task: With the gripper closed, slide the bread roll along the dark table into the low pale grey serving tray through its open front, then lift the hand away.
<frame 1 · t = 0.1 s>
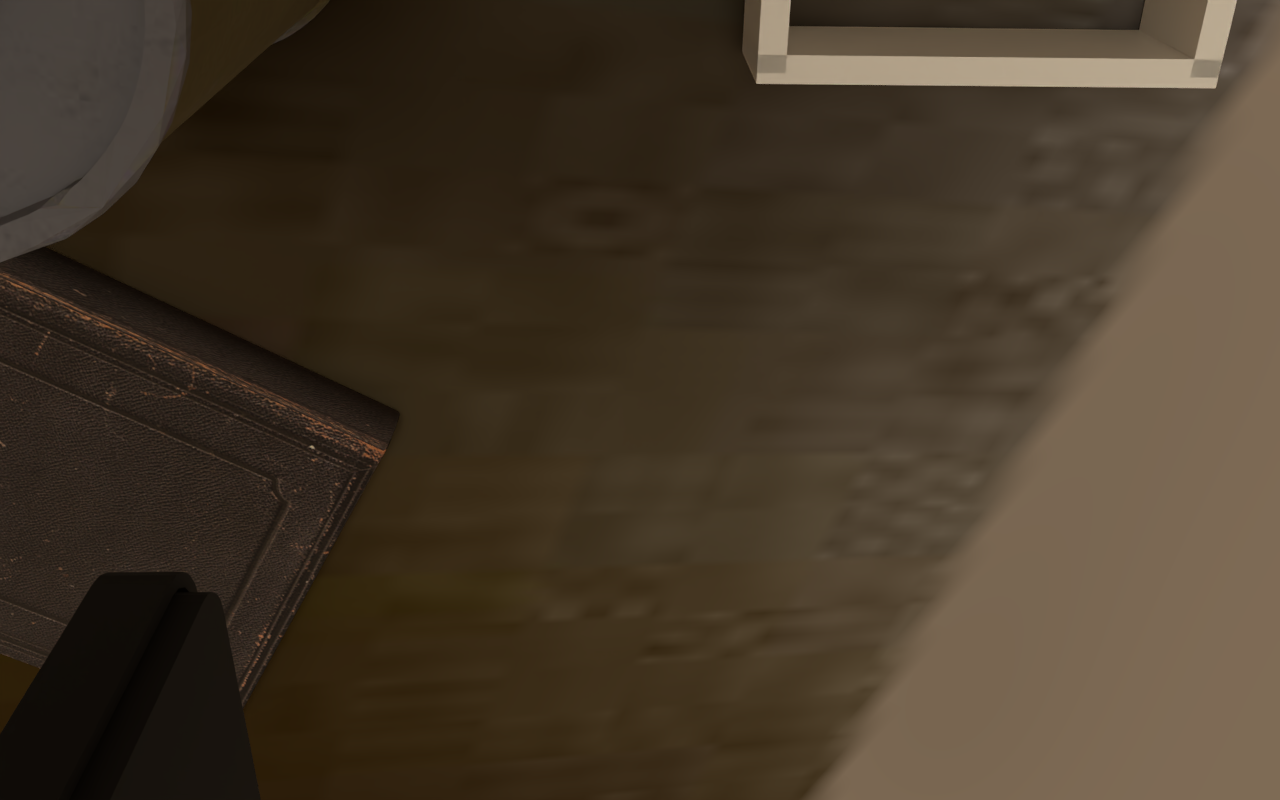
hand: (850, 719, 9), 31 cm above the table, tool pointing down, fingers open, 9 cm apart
hardcover book: (24, 434, 44), on the table
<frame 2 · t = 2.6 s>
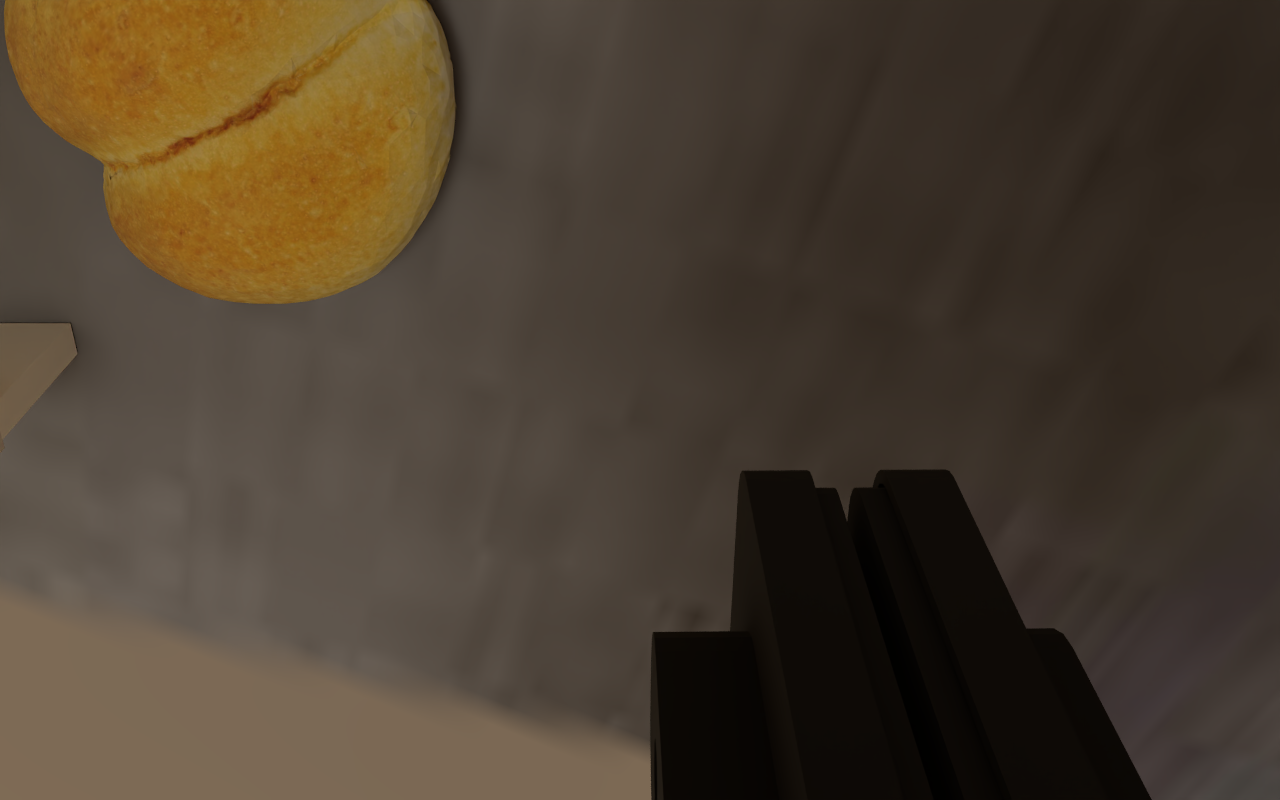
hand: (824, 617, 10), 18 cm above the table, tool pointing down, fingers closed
bread roll: (256, 69, 26), on the table
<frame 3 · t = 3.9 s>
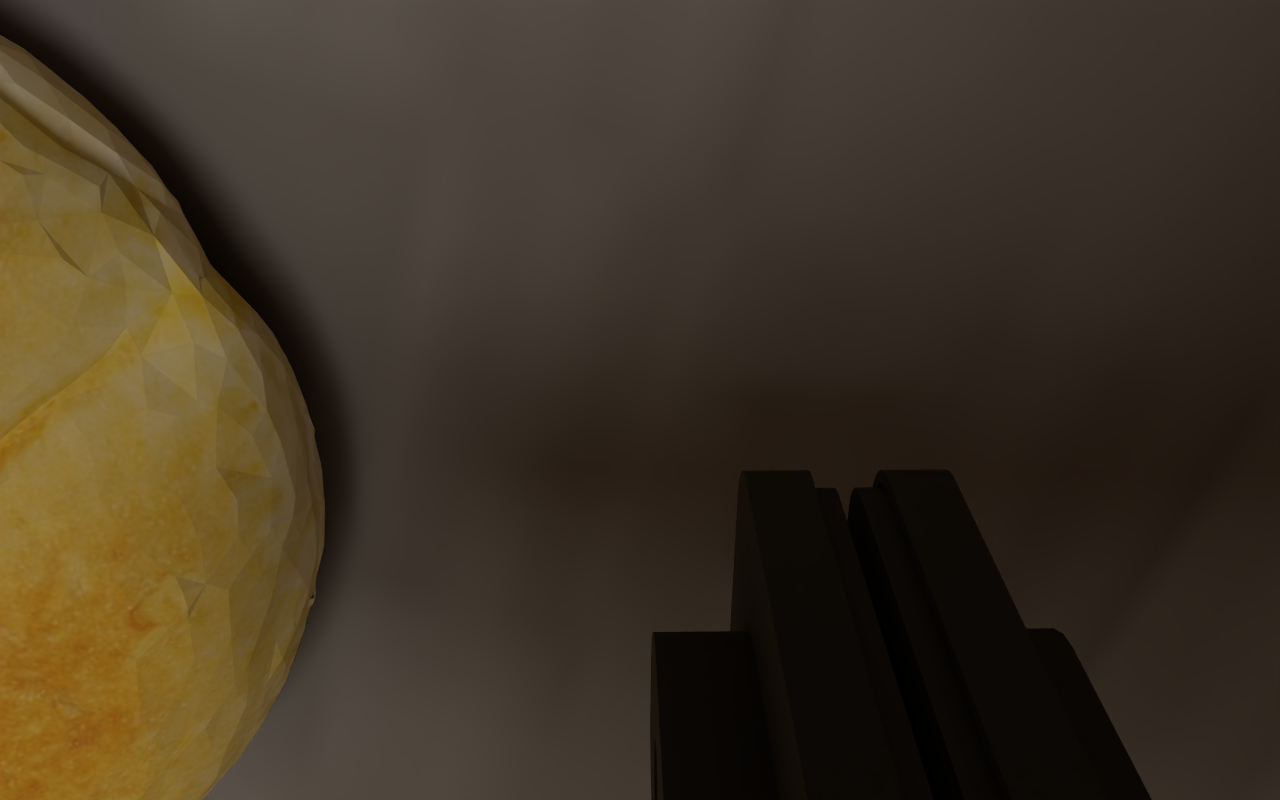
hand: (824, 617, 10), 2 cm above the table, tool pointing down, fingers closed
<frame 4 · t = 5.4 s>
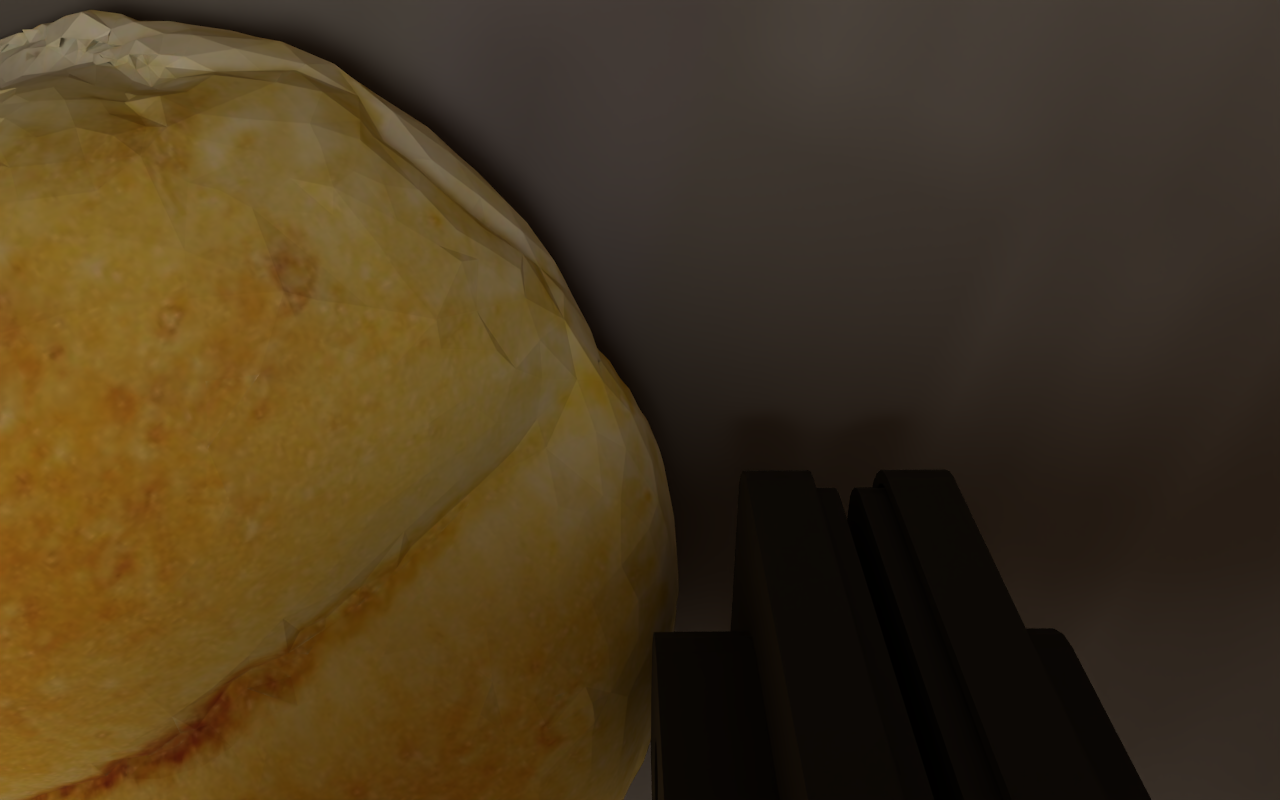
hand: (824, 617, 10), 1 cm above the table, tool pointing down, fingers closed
bread roll: (207, 483, 11), on the table, touching gripper
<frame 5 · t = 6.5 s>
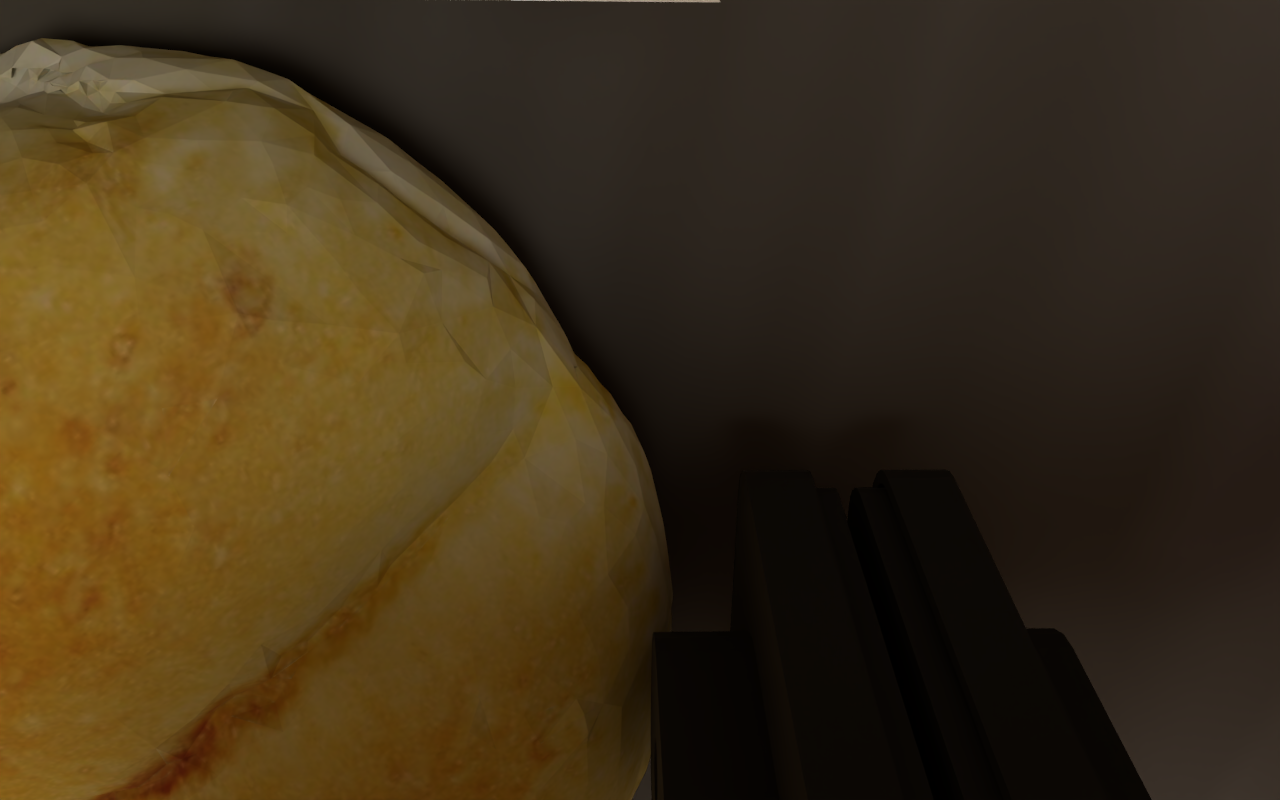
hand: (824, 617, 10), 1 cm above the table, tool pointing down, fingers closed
bread roll: (197, 507, 11), on the table
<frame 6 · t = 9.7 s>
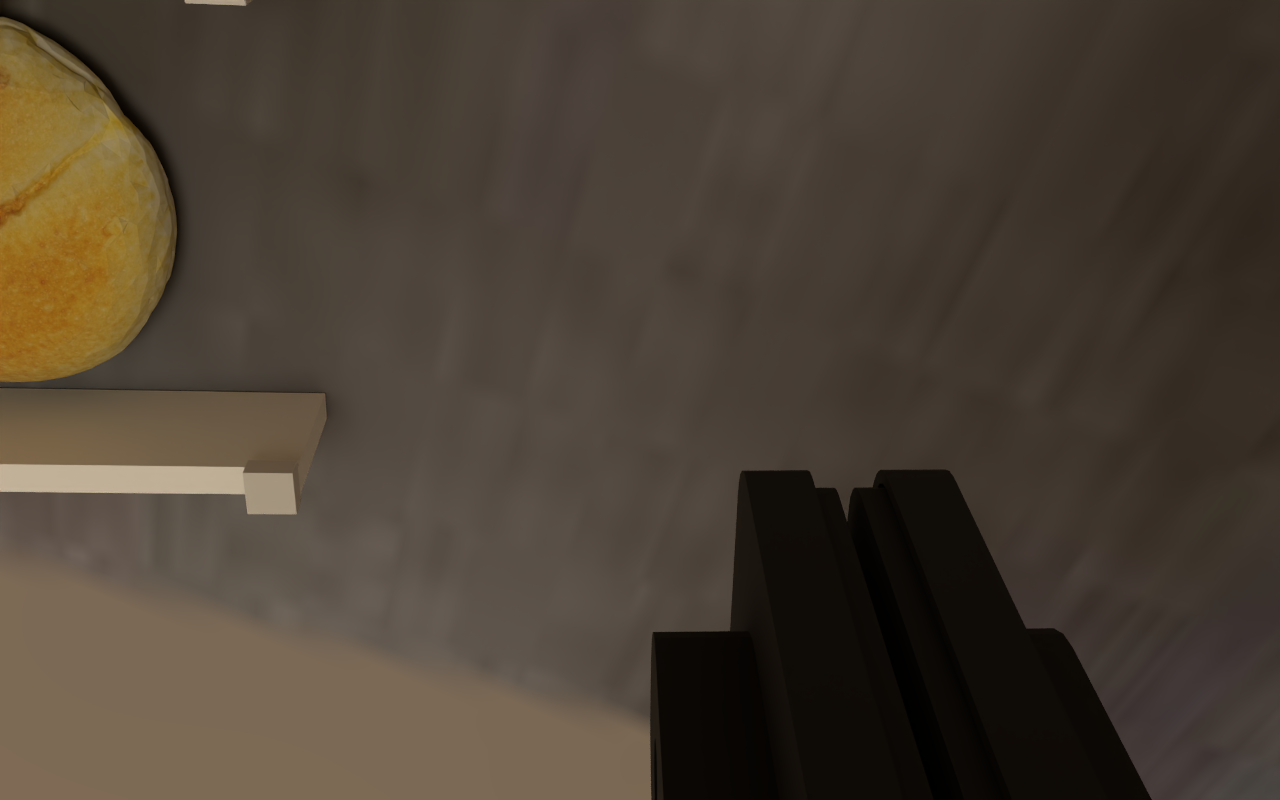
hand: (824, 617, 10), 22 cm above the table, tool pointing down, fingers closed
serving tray: (15, 187, 30), on the table
bread roll: (9, 185, 31), on the table
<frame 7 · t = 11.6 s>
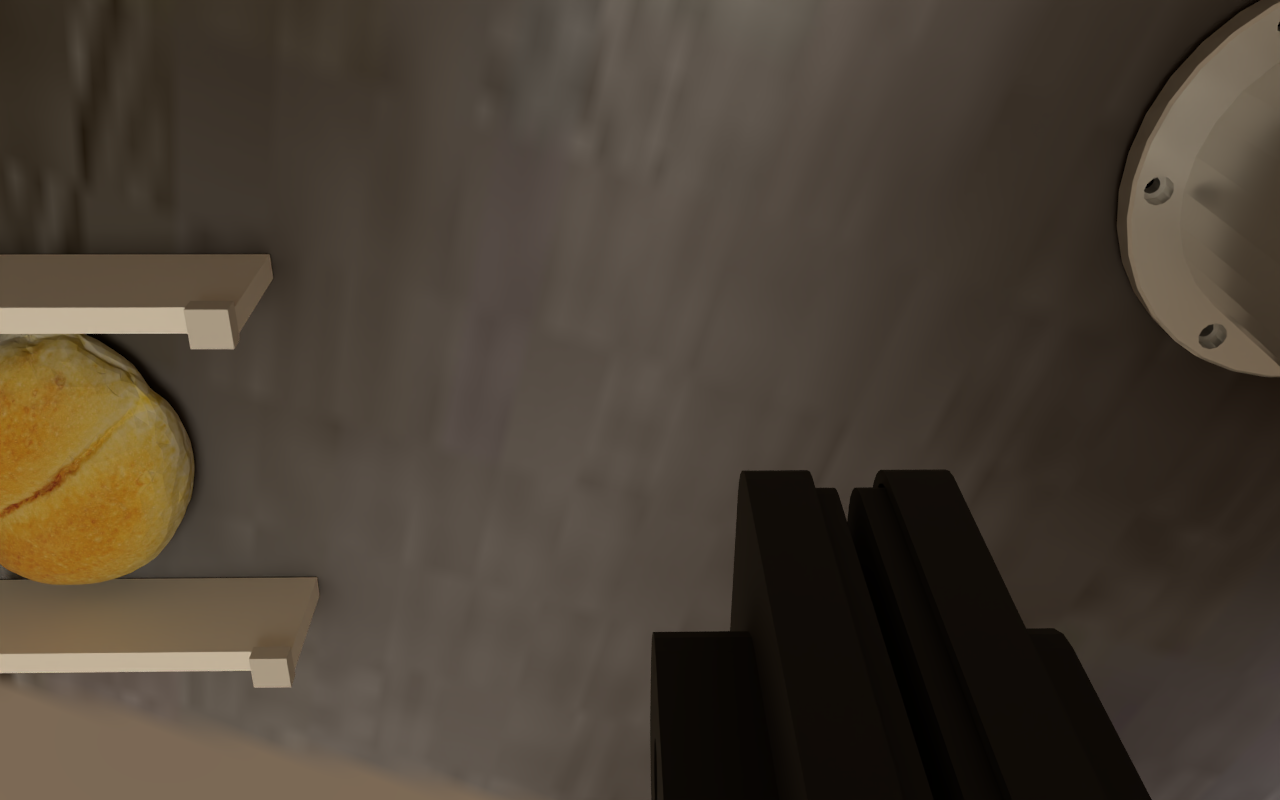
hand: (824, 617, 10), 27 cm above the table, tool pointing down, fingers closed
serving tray: (75, 439, 40), on the table
bread roll: (68, 434, 40), on the table
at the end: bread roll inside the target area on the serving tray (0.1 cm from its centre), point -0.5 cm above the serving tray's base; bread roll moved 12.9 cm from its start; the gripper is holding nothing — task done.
